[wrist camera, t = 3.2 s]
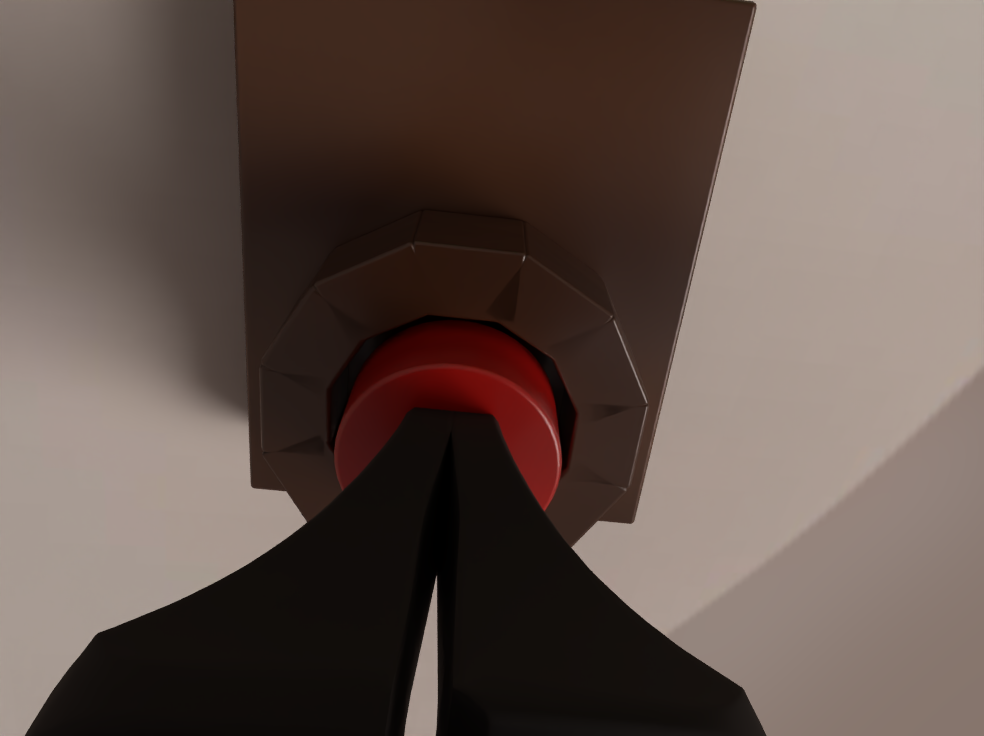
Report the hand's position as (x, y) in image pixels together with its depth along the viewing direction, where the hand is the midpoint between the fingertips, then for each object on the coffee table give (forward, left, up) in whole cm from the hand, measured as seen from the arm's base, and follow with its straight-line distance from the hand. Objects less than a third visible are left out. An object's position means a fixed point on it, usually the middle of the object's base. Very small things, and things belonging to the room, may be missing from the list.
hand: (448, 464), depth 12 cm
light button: (0, 0, -2) cm, 2 cm away
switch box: (+2, 0, -5) cm, 5 cm away
